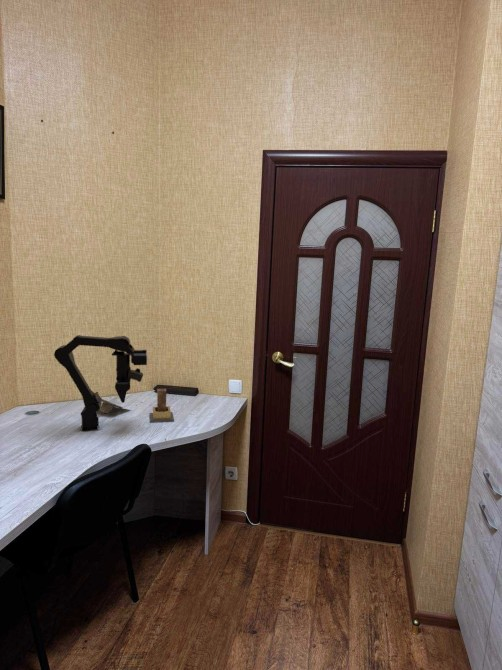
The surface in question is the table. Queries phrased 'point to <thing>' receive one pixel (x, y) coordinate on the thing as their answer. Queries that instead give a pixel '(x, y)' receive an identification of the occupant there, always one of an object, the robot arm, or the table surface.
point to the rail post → (161, 399)
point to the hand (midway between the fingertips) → (123, 399)
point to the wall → (108, 406)
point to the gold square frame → (161, 415)
